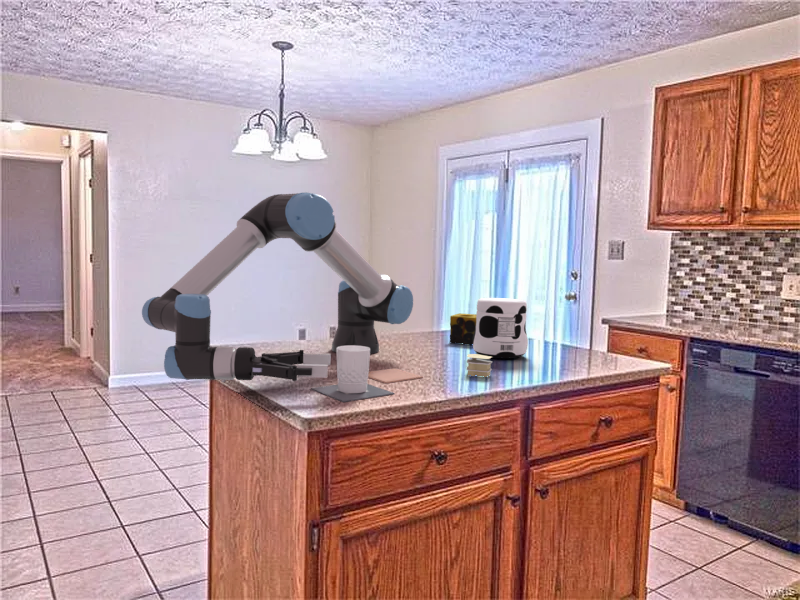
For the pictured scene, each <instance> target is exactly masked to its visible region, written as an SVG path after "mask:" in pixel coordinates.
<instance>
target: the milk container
mask: <svg viewBox="0 0 800 600" xmlns="http://www.w3.org/2000/svg"><path fill="white" fill-rule="evenodd" d="M476 303H477V304H476V328H475V332H474V335H473V345H472V347H473V351H474V352H475V354H479V355H485V356H491V357H492V358H494V359H516V358H520V357H523V356H524V355H525V354H526V352H527V350H528V345H529V339H528V335H527V330H526V323H527V309H528V308H527V301H526V300H524V299H523V300H522V299H518V298H517V299H516V298H506V297H505V298H501V297H486V298H485V297H483V298H478V299H477V302H476Z"/></svg>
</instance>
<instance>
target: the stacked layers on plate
mask: <svg viewBox="0 0 800 600" xmlns="http://www.w3.org/2000/svg"><path fill="white" fill-rule="evenodd" d="M466 357H467V360H466V363H467V364H468V365H467V366H466V371H467V376H468V375H471V376H475V375H477V376H484V377H487V376H489V375H490V376H491V371H492V370H493V369H492V368H491V367H492V366H491V365H492V363H493V361H491V360H490V359H491V358H492V357H491V356H485V355H480V354H477V353H468V354H467V356H466ZM471 376H470V377H471ZM490 376H489V377H490ZM487 378H488V377H487Z"/></svg>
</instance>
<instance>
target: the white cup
mask: <svg viewBox="0 0 800 600" xmlns="http://www.w3.org/2000/svg"><path fill="white" fill-rule="evenodd" d="M335 353H336V378H337V384H338V390H339V391H340V392H343V393H353V394H354V393H363V392H366V390H367V384H368V380H369V378H368V373H369V372H370V362H371V361H370V359H371V354H370V348H369V347H365V346H355V345H348V346H340V347H337V348H336V352H335Z"/></svg>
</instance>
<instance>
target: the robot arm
mask: <svg viewBox="0 0 800 600" xmlns="http://www.w3.org/2000/svg"><path fill="white" fill-rule="evenodd" d="M277 239H291V240H292V241H294V242H295V243H296V244H297V245H298V246H299V247H300V248H301V249H303V251H305V252H309V253H310V252H313V253H315V255H317V257H318V258H320V259H321V260H322V261H323V262H324V263H325V264H326V265H327V266H328V267H329V268H330V269H331V270H333V272H335V274H337V275H338V276H339V277H340V278H341V279H342V280H341V281H340V282H339V285H338V291H337V327H336V331H335V333H334V336H333V339H332V342H331V351H332V352H334V353H337V352H336V348H337V347H340V346H348V345H355V346H365V347H369V348H370V355H371V354H377V353H379V351H380V343H379V340H378V337H377V334H376V330H375V322H378V323H379V322H380V323H385V324H390V325H402V323H405V322H406V321H407V320H408V319H409V317H410V316H411V314H412V312H413V307H414V294H413V292H412V290H411V289H410V288H409V287H408V286H405V285H404V284H403V285H402V284H400V285H398V284H396V283H395V281H393V279H392V278H391V277H390V276H389V275H387V274H385V273H379V272H378V271H377V270H376V269H375V268H374V267H373V266H372V265H371V264H370V263H369V262H368V261H367V260H366V259H365V258H364V257H363V256H362V255H361V254H360V253H359V251H358V250H357V249H356V248H355V247H354V246H353V245H352V244H351V243H350V242H349V241H348V240H347V239H346V238H345V237H344V236H343V235H342V234H341V233H340V232H339V231H338V229H337V221H336V219H335V215H334V208H333V206H332V205H331V203H330V202H329V200H328V199H326V198H325V197H324V196H322V195H320V194H317V193H311V192H306V191H305V192H299V193H298V192H297V193H281V194H273V195H270V196H267V197H266V198H264V199H263V200H261V201H259V202H258V203H257V204H256V205H254V206H253V207H251V209H249V210H248V211H247V212H246V213H245V214H244V215H243V216H241V217H240V218H239V219H238V220H237V221H236V227H235V228H234V229H233V230H232V231H231V232H230V233H229V234H227V236H226V237H224V238H223V239H222V240H221V241H220V242H219V243H218V244H216V245H215V246H214V247H213V248H212V249H211V250H210V251H209V252H208V253H207V254H206V255H204V256H203V257H202V258H201V259H200V260H199V261H198V262H197V263H196V264H195V265H193V267H191V269H190V270H188V271H187V272H186V273H185V274H183V276H182V277H181V278H180V279H179V280H177V282H176V283H174V284H173V285H172V286H171V287H170V288H169V289H167V291H165V292H164V293H163V294H162V295H161V296H154V297H152V298H151V297H150V298H149V299H148V300H146V301H145V303H143V306H142V309H141V316H142V319H143V321H144V323H146V324H147V325H148V326H150V327H152V328H154V329H157V330H164V331H168V332H172V333H175V345H171V346H169V347H168V348H166V350H165V354H164V360H163V369H164V372H165V374H166V376H167V377H168V378H170V379H177V380H180V379H181V380H186V381H189V380H193V381H194V380H213V381H214V380H220V381H221V382H222V383H225V382H226V381H227V380H228V381H229V380H231V381H234V380H235V379H236V380H237V381H253V379H254V377H256V376H259V377H260V376H261V377H270V378H277V379H285V380H291V382H297V380H298V378H319V379H320V378H323V379H324V378H325V379H326V378H328V372H329V370H328V369H329V367H328V366H331V353H307V352H306V353H304V350H303V349H300V350H299V351H291V352H288V351H287V352H275V353H274V352H273V353H265V352H263V353H261V356H256V351H255V349H254V348H253V347H250V346H249V347H245V346H243V347H242V346H240V347H237V348H236V347H235V346H211V318H212V317H211V315H212V310H211V303H210V302H211V300H210V296H208V295H209V294H211V293H212V292H213V291H214V290H215V289H216V288H217V287H218V286H220V284H221V283H222V282H223V281H225V279H226V278H227V277H228V276H230V274H232V273H233V272H234V271H235V270H236V269H237V268H238V267H239V266H240V265H241V264H242V263H243V262H245V260H246V259H247V258H248V257H250V256H251V255H252V254H253V253H254V251H255V252H256V250H257V249H263V248H265V246H266V245H268V244H269V243H271V242H272V241H274V240H277Z"/></svg>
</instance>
